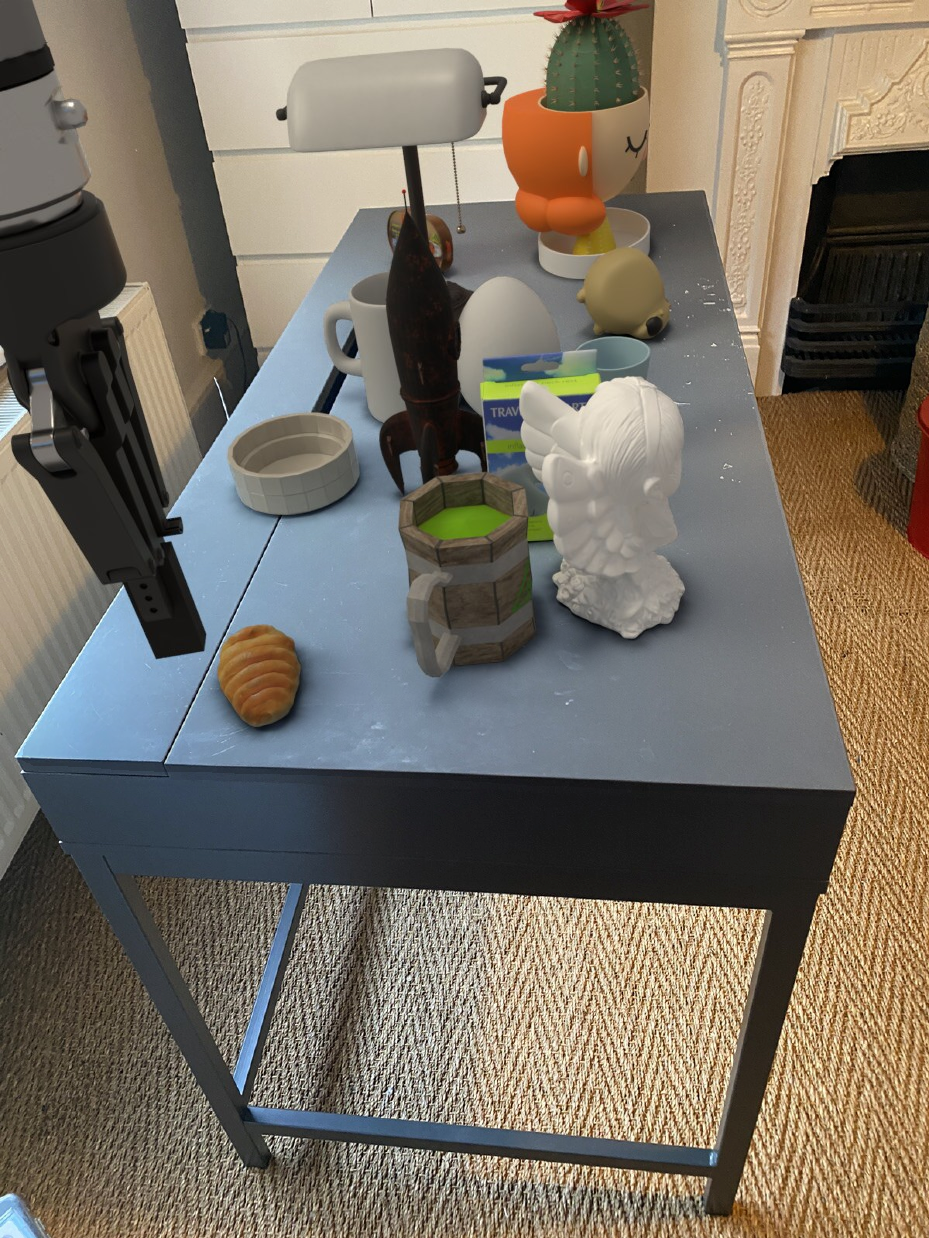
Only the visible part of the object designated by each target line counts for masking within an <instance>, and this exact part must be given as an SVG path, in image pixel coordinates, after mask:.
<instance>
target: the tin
mask: <svg viewBox="0 0 929 1238" xmlns="http://www.w3.org/2000/svg"><path fill="white" fill-rule="evenodd" d="M407 211H408V213H409V214H410V216H411V211H410V207H407ZM405 212H406V209H405V208H402V209H395V210H393V211H391V213H390V214H389V216H388V218H387V222H386V223H387V224H386V234H387V240H388V245H389V247H390V251H391V253H392V255H393V254H394V250H395V247H396V243H397V240H398V236H399V233H400V229H401V226H402V222H403V219H404V215H405ZM425 213H426V222H427V230H428V238H429V246H430V249H431V251H432V253H433V255H434V257H435V259H436V261H437V263H438V265H439V267H440V269H441V271H442V273H444V272H447V271H448V270H449V269H450V268H451V267H452V266H453V262H454V244H453V236H452V233H451V231H450V229H449V226H448V224H446V222H445V221H444V220H443V219H442V218H441V217H439V216H437V215H433V214H430V213H427V212H425Z"/></svg>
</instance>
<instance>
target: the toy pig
mask: <svg viewBox="0 0 929 1238" xmlns="http://www.w3.org/2000/svg"><path fill="white" fill-rule="evenodd" d="M583 280H584V281H583V284H582V285H583V286H582V288H581V289H580V290H579V291H578V292H577V294H576V297H575V298H576V301H577V302H578V303H580V304H584V306H585V308H586V311H587V313H588V315H589V316H590V318H591V319H592V322H593V323H594V325H593V329H592V330H593V333H594V334H595V335H597V336H601V335H604V334H605V333H608V334H613V335H625V334H627V335H629V336H632V337H634V338H635V339H641V340H648V339H651V338H654V337H655V336H657V335H659V334H660V332H662V330H664V329H665V327H666V326H667V324H668V322H669V320H670V316H671V309H670V308H671V307H672V303H671V302H669V300H668V299H667V297H666V294H665V293H666V292H665V285H664V281H663V278H662V276H661V273H660V271H659V270H658V268H657V266H656V265H655V262H654V261H653V260H652V259H651V258H650V257H649V255H648V256H647V255H646V254H645V253H644V252H642V251H641V250H639V249H636V248H632V247H621V248H617V249H614V250H611V251H609V252H607V253H605V254H604V255H602V256H601V257H599V258H598V259H597V260H596V261H595V262H594V263H593V264H592V266H591V267H590V268H589V270H588V272H587V274H586V277H585V279H583Z"/></svg>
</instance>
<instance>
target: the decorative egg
mask: <svg viewBox="0 0 929 1238" xmlns="http://www.w3.org/2000/svg"><path fill="white" fill-rule="evenodd" d="M473 292H474V293H473V294H472V296H471V297H470V299H469V300H468V302H467V303H466V305H465V307H464V309H463V311H462V313H461V315H460V318H459V320H458V321H459V323H460V327H461V342H462V343H461V352H460V357H459V360H457V366H458V380H459V381H460V388H461V390H460V394H461V395H462V397H463V398H464V400H465V401H466V403H467V404H468V405H469V407H471V409H473V411H475V412H476V414H478V415H479V416H481V417H483V414H482V405H481V396H480V383H484V372H483V363H482V358H492V357H505V356H516V355H530V354H543V353H554V352H562V351H561V343H560V337H559V334H558V331H557V326H556V324H555V321H554V319H553V317H552V314H551V312H550V311H549V309H548V307H547V306H546V304H545V302H543V300H542V298H540V296H539V295H538V294H537V293H536V292H535V291H534V290H533V289H532V288H531V287H530V286H528V285H527V284H526V283H524V282H523V281H521V280H519V279H517V278H515V277H511V276H505V275H504V276H496V277H492V278H491V279H489V280H487V281H485V282H484V283H482V284H481V285H480V286H478V288H477V289H476V290H475V291H473ZM558 367H559V363H557V362H544V361H543V360H542V359H540V360H538V361H536V363H529V364H524V365H523V366H522V367H521V369H522V370H523V371H535V370H549V369H556V368H558Z"/></svg>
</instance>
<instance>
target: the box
mask: <svg viewBox="0 0 929 1238" xmlns="http://www.w3.org/2000/svg"><path fill="white" fill-rule="evenodd" d="M540 359H542V360H543V361H544V362H557V363H559V367H558V368H556V369H549V370H535V371H523V370H522V369H521V367H522V366H523V365H524V364H529V363H536V361H538V360H540ZM482 363H483V372H484V383H480V396H481V405H482V414H483V416H482V417H483V425H484V435H485V445H486V456H487V467H488V472H489V473H491V474H493V475H496V476H498V477H501V478H503V479H505V480H508V481H510V482H512V483H515V484H517V485H520V486H522V487H524V488H525V494H526V502H527V510H528V531H527V542H535V541H536V542H537V541H554V532H553V531H552V529H551V528H550V526H549V522H548V518H547V508H548V502H549V499H550V497H549V495H548V494H547V492H546V490H545V488H544V486H543V483H542V482H541V481H539V480H538V479H537V478H536V476H535V475H534V473H533V471H532V467H531V466H530V465H529V464H528V462H527V459H526V456H525V450H526V447H525V446H524V444H523V441H522V438H521V426H522V423H523V421H524V420H523V418H522V416H521V413H520V409H519V400H520V394H521V389H522V387H523V385H524V384H525V383H526V382H527V381H533V382H536V383H538V384H540V385H541V386H543V387H544V388H545V389H547V390H548V391H550V392H551V393H552V394H554V395H555V396H557V397H558V398H559V399H561V400H562V401H563V402H565V403H566V404H568V405H569V406H570V407H572V408H573V409H574V410H576V411H577V412H578V411H579V410H580V408H581V407H582V406H586V404H587V402H588V401H589V399H590V398H591V397H592V396H593V395H594V394H595V393H596V392H595V389H596V387H597V386H598V385H599V384H600V383H601V378H600V374H598V372H597V349H592V350H580V351H575V350H568V351H561V352H554V353H543V354H530V355H516V356H505V357H492V358H482Z"/></svg>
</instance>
